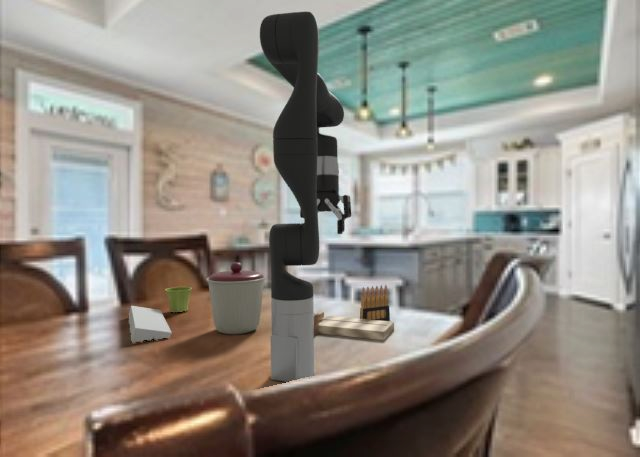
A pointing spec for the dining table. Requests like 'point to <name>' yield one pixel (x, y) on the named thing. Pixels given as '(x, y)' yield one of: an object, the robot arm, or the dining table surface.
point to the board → (355, 327)
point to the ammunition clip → (375, 304)
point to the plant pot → (178, 298)
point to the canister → (236, 299)
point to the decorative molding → (147, 324)
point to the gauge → (317, 322)
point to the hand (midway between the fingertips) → (325, 233)
